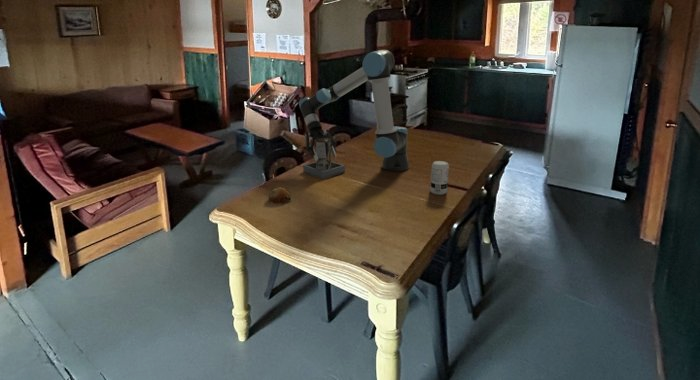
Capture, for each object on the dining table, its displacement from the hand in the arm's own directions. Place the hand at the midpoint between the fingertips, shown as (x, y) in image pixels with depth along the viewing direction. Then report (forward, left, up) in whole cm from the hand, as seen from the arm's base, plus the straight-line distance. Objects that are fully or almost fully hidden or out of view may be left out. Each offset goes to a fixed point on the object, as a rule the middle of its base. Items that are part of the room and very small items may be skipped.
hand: (326, 158), depth 266 cm
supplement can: (-58, -22, -9) cm, 63 cm away
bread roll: (-13, +41, -9) cm, 44 cm away
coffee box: (+3, -1, -7) cm, 7 cm away
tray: (+3, -1, -9) cm, 9 cm away
